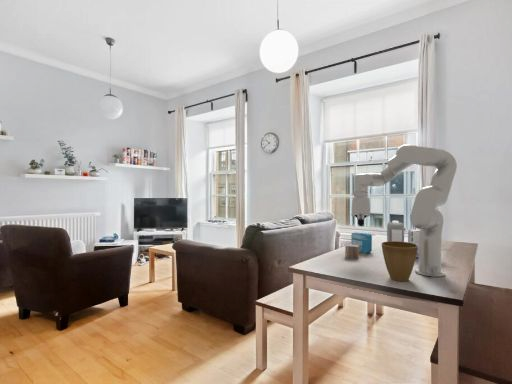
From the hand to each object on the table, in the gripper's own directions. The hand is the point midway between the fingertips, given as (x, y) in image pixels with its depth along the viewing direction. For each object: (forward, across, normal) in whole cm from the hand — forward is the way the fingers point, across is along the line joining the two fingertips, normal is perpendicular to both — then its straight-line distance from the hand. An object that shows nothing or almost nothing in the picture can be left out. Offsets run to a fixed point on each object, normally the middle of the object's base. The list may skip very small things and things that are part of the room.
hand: (360, 225), depth 176 cm
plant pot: (+19, +19, -36) cm, 45 cm away
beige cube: (+15, -1, 0) cm, 16 cm away
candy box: (+19, +33, +15) cm, 41 cm away
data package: (+19, -1, +18) cm, 26 cm away
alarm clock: (+19, +19, +26) cm, 37 cm away
